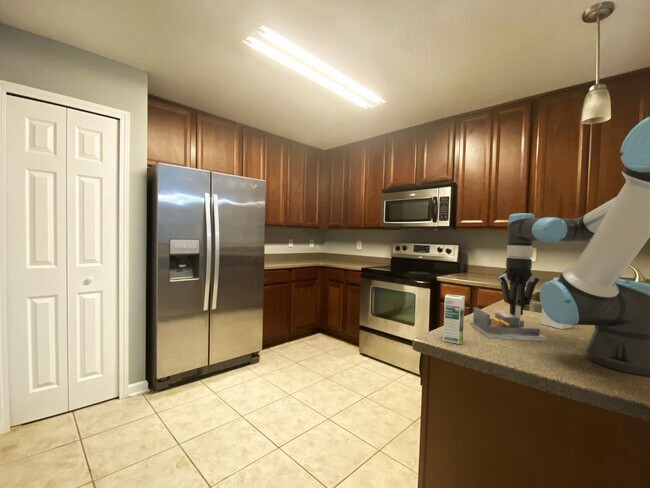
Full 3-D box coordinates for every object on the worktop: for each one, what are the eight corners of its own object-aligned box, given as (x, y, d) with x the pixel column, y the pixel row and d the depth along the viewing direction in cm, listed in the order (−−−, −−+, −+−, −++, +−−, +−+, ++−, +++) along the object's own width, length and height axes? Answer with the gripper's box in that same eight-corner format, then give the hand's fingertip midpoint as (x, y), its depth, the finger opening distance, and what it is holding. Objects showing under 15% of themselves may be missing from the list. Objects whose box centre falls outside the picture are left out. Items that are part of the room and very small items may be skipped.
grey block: (518, 330, 100) (519, 317, 100) (503, 330, 101) (504, 317, 101) (508, 325, 106) (509, 313, 106) (494, 324, 107) (495, 312, 107)
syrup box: (442, 341, 93) (444, 296, 92) (444, 336, 98) (446, 293, 97) (462, 345, 90) (464, 298, 90) (463, 339, 95) (465, 295, 95)
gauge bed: (546, 341, 96) (547, 319, 95) (488, 338, 97) (489, 316, 97) (519, 326, 111) (520, 308, 110) (470, 324, 112) (471, 305, 112)
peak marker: (510, 334, 97) (510, 324, 97) (505, 334, 97) (505, 323, 97) (495, 325, 106) (495, 316, 106) (490, 325, 106) (491, 315, 106)
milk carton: (540, 324, 115) (543, 276, 114) (551, 322, 118) (553, 275, 117) (561, 329, 109) (564, 279, 108) (572, 327, 112) (575, 278, 111)
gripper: (532, 257, 106) (528, 321, 107) (494, 256, 107) (491, 319, 108) (545, 259, 98) (541, 328, 99) (505, 257, 100) (501, 325, 100)
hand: (515, 323), depth 104 cm, fingers closed
